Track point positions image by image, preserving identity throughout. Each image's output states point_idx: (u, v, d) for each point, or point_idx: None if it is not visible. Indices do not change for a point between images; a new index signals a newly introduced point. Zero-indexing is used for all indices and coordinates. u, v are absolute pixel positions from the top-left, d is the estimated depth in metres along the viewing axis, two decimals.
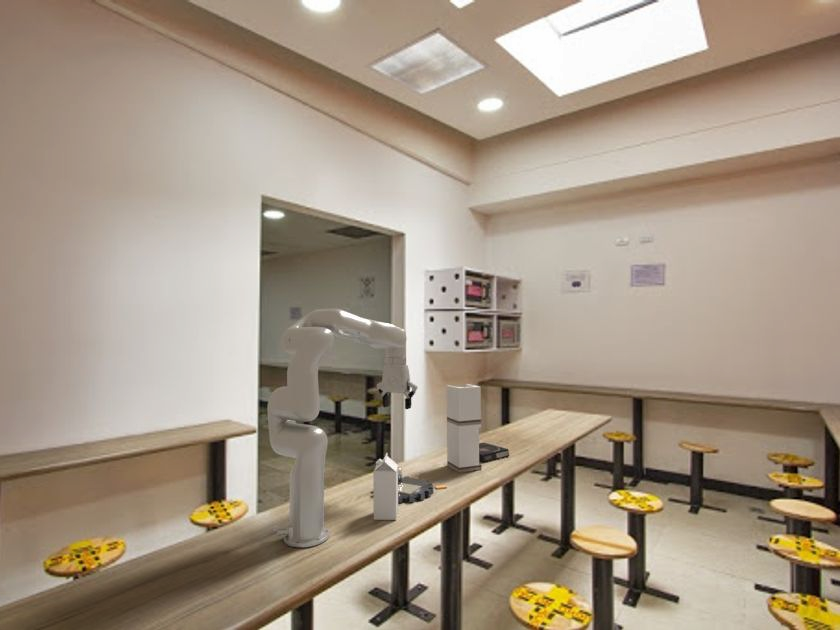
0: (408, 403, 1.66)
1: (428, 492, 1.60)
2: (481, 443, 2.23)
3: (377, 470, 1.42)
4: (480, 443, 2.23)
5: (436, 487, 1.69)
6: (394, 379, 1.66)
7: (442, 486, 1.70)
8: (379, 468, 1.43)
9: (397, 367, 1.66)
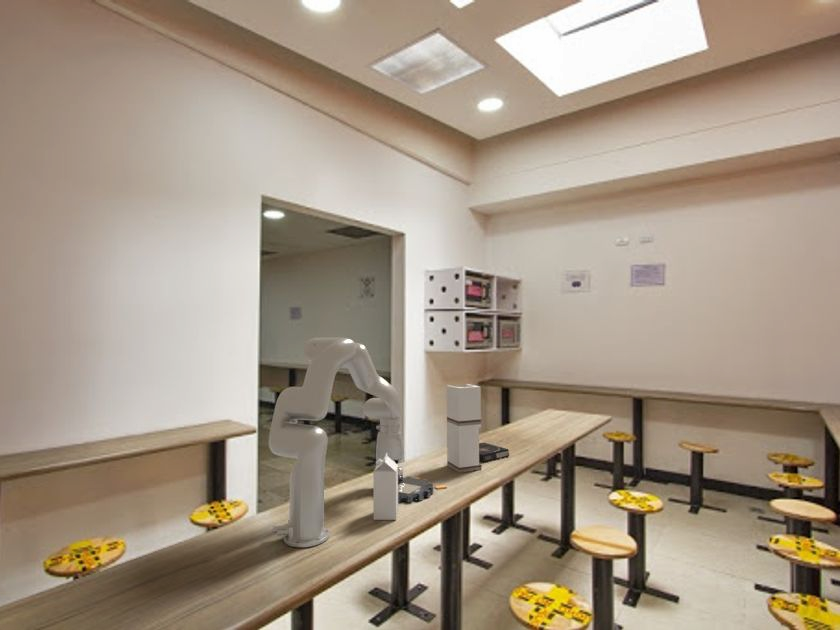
0: None
1: (427, 493, 1.59)
2: (481, 443, 2.23)
3: (377, 470, 1.42)
4: (480, 443, 2.23)
5: (436, 487, 1.69)
6: (391, 447, 1.70)
7: (442, 486, 1.70)
8: (379, 468, 1.43)
9: (394, 435, 1.71)
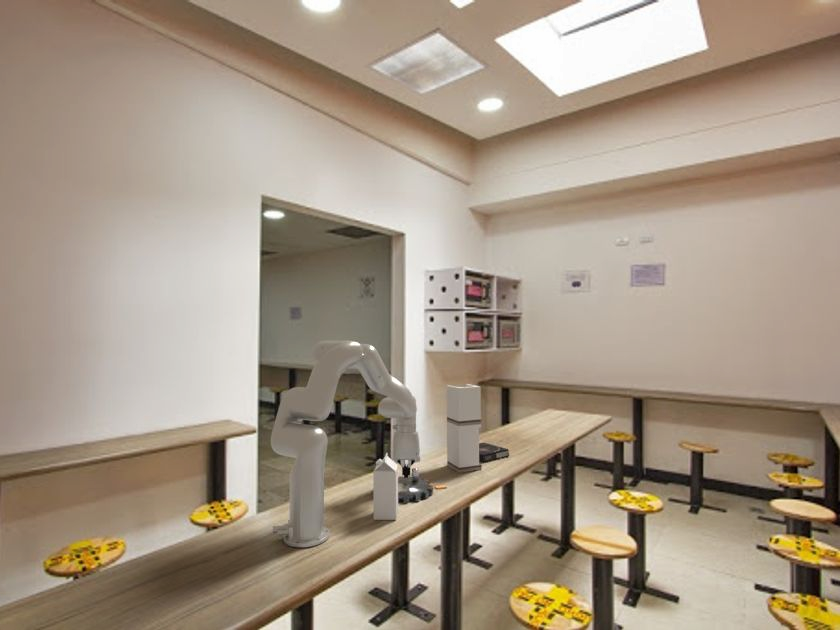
0: (408, 472, 1.71)
1: (403, 497, 1.55)
2: (481, 443, 2.23)
3: (377, 470, 1.42)
4: (480, 443, 2.23)
5: (436, 487, 1.69)
6: (407, 446, 1.70)
7: (442, 486, 1.70)
8: (379, 468, 1.43)
9: (411, 434, 1.70)
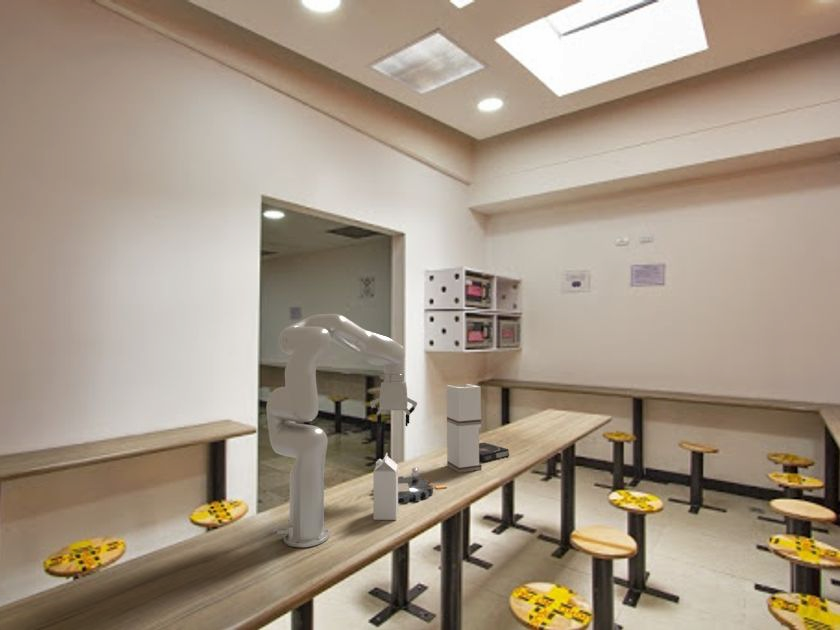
0: (408, 420, 1.66)
1: (403, 497, 1.55)
2: (481, 443, 2.23)
3: (377, 470, 1.42)
4: (480, 443, 2.23)
5: (436, 487, 1.69)
6: (396, 396, 1.64)
7: (442, 486, 1.70)
8: (379, 468, 1.43)
9: (399, 384, 1.65)
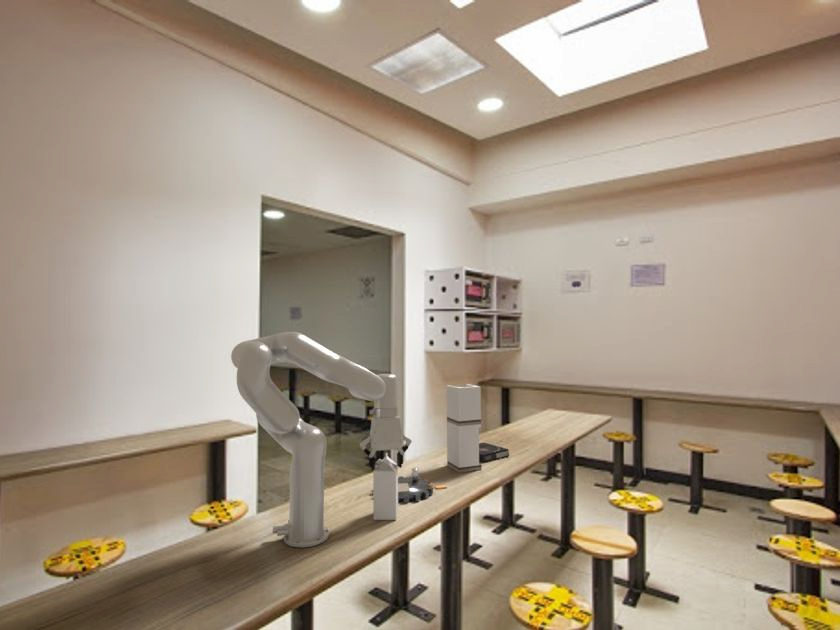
0: (401, 460, 1.45)
1: (403, 497, 1.55)
2: (481, 443, 2.23)
3: (377, 470, 1.42)
4: (480, 443, 2.23)
5: (436, 487, 1.69)
6: (390, 434, 1.43)
7: (442, 486, 1.70)
8: (379, 468, 1.43)
9: (394, 419, 1.43)
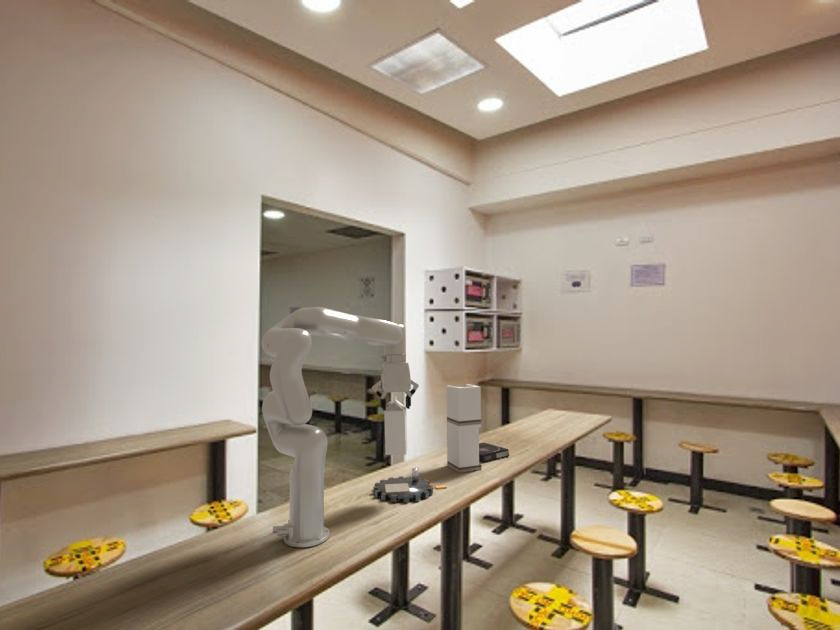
0: (409, 402, 1.60)
1: (403, 497, 1.55)
2: (481, 443, 2.23)
3: (387, 410, 1.57)
4: (480, 443, 2.23)
5: (436, 487, 1.69)
6: (399, 377, 1.57)
7: (442, 486, 1.70)
8: (389, 409, 1.58)
9: (403, 364, 1.58)
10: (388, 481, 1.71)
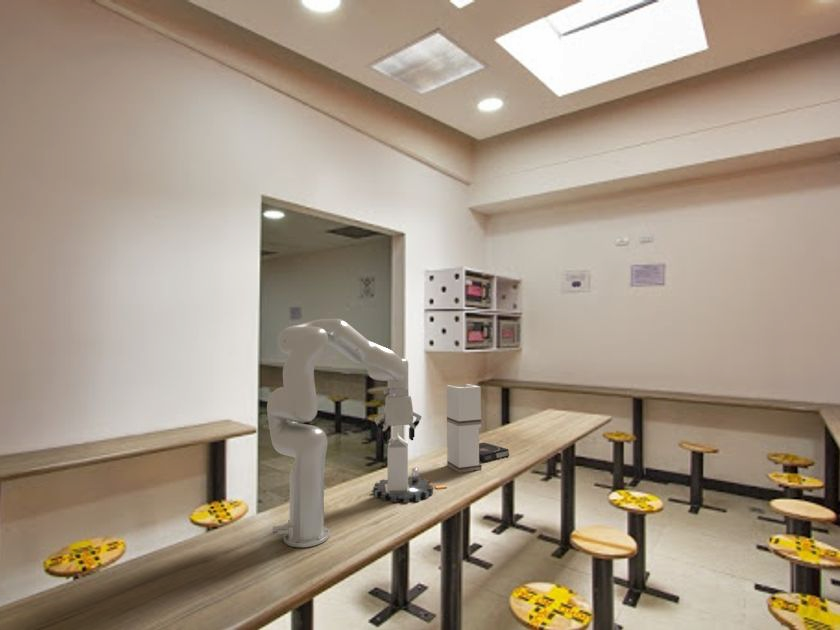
0: (413, 434, 1.64)
1: (403, 497, 1.55)
2: (481, 443, 2.23)
3: (391, 447, 1.60)
4: (480, 443, 2.23)
5: (436, 487, 1.69)
6: (402, 411, 1.61)
7: (442, 486, 1.70)
8: (392, 445, 1.61)
9: (405, 398, 1.62)
10: None
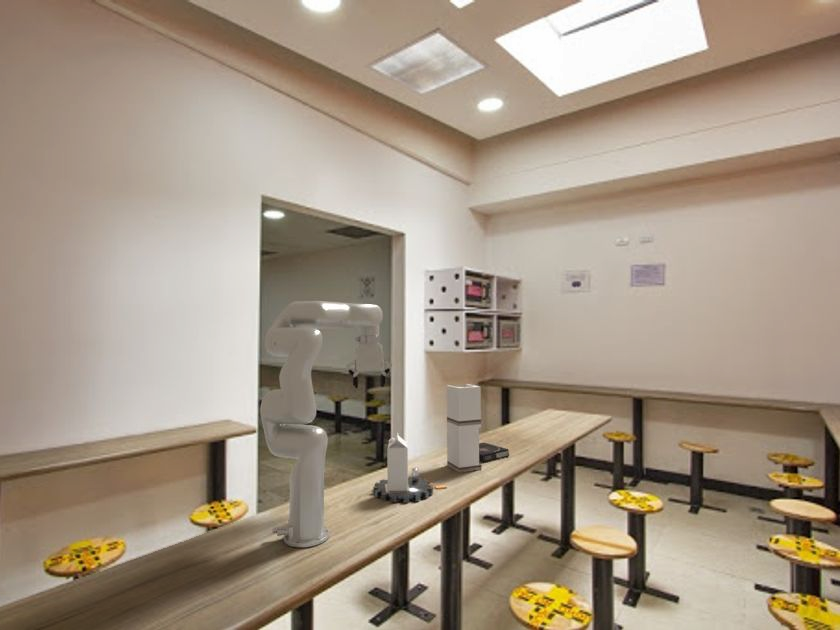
0: (383, 381, 1.67)
1: (403, 497, 1.55)
2: (481, 443, 2.23)
3: (390, 447, 1.60)
4: (480, 443, 2.23)
5: (436, 487, 1.69)
6: (373, 357, 1.64)
7: (442, 486, 1.70)
8: (392, 445, 1.61)
9: (376, 345, 1.65)
10: None
